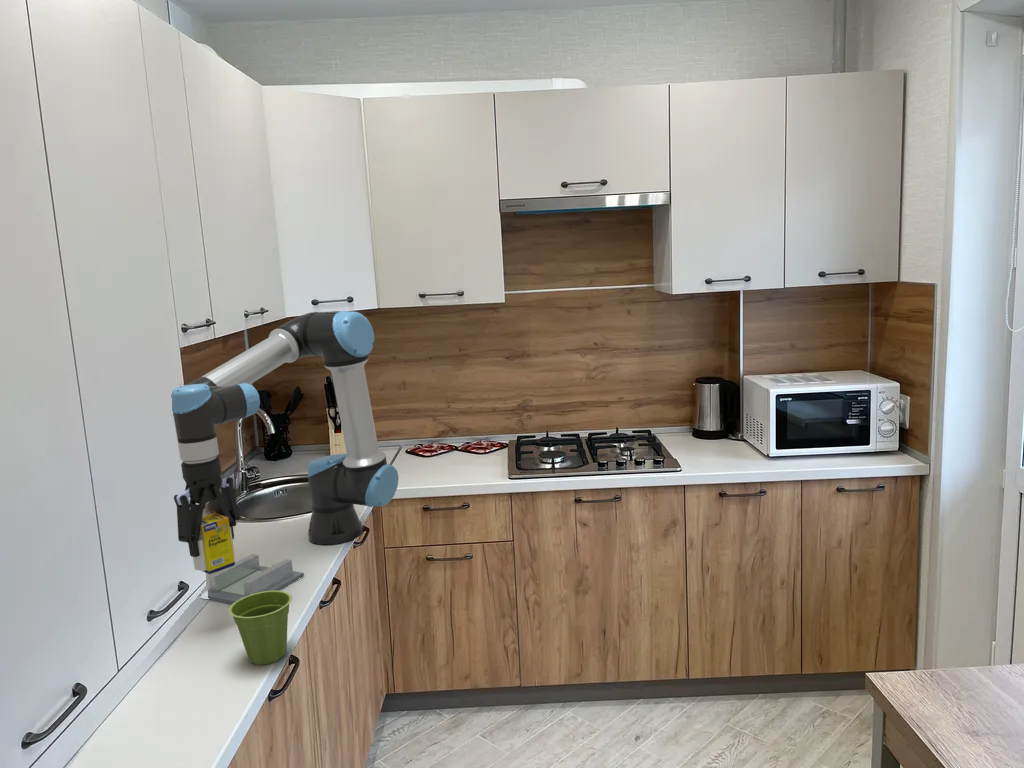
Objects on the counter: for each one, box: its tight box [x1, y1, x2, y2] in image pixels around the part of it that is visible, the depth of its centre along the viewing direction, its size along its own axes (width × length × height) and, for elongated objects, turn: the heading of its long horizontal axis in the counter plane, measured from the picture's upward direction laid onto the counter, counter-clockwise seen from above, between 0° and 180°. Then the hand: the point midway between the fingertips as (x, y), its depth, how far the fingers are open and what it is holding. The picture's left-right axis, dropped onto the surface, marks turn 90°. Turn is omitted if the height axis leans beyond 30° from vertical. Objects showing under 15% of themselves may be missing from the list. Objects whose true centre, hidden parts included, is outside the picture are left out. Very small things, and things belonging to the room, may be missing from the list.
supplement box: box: [199, 512, 235, 575], centre depth 158 cm, size 6×6×11 cm
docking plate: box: [207, 553, 305, 606], centre depth 180 cm, size 18×16×5 cm
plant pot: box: [228, 590, 293, 666], centre depth 146 cm, size 12×12×11 cm
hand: (215, 562), depth 159 cm, fingers closed on supplement box, 7 cm apart
